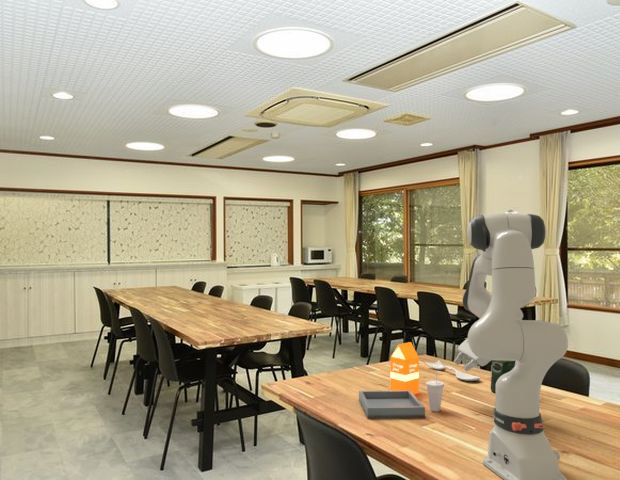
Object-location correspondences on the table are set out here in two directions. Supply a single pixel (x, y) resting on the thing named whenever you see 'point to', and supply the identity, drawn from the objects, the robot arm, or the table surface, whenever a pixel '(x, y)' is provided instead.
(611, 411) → the table surface
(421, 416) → the tray
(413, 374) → the orange juice
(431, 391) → the smoothie
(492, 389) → the coffee jar
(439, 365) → the spoon
